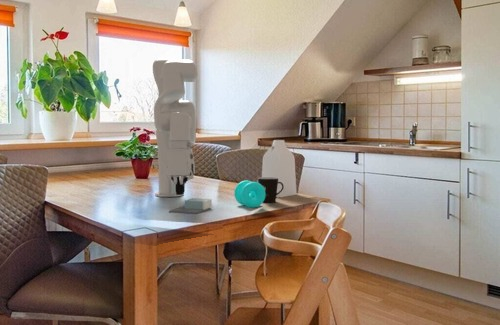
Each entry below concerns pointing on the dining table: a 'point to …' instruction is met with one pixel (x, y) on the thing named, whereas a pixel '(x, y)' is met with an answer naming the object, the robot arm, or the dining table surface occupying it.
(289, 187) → the milk
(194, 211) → the mat
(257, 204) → the teal spool
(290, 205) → the dining table surface
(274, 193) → the coffee mug
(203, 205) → the slab
